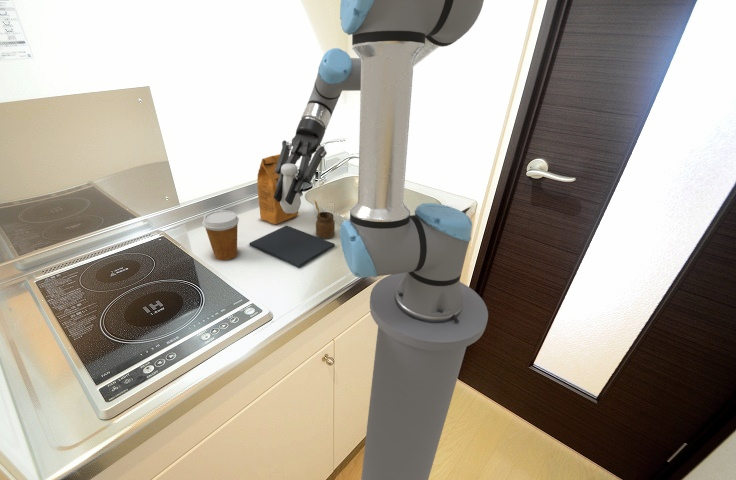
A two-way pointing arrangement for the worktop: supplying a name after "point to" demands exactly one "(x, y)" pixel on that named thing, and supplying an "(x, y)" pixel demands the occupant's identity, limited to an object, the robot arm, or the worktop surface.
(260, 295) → the worktop surface
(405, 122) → the robot arm
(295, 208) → the salt shaker
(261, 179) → the coffee package
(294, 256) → the mat
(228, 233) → the disposable coffee cup
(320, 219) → the brown jar with stick
